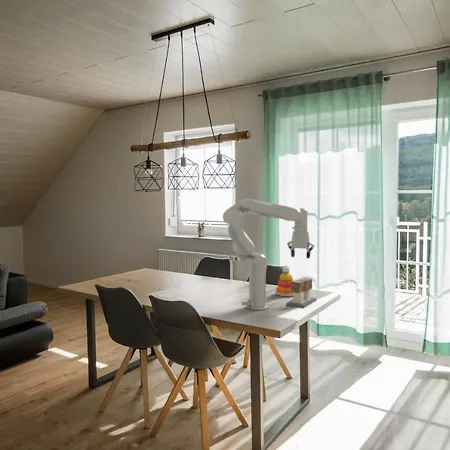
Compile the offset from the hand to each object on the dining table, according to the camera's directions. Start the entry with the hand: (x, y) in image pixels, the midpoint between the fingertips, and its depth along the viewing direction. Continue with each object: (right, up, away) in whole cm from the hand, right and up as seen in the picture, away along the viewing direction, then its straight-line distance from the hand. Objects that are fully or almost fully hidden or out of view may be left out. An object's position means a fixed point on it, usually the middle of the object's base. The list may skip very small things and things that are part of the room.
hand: (300, 257), depth 258 cm
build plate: (+1, -27, +1) cm, 27 cm away
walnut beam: (+1, -20, 0) cm, 20 cm away
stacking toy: (-5, -26, +22) cm, 34 cm away
